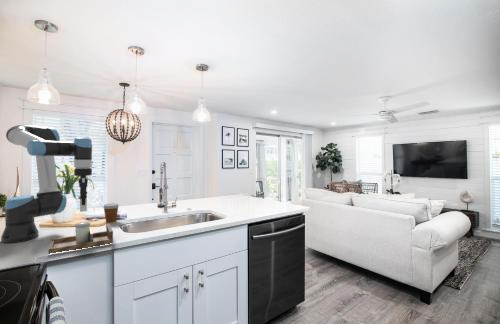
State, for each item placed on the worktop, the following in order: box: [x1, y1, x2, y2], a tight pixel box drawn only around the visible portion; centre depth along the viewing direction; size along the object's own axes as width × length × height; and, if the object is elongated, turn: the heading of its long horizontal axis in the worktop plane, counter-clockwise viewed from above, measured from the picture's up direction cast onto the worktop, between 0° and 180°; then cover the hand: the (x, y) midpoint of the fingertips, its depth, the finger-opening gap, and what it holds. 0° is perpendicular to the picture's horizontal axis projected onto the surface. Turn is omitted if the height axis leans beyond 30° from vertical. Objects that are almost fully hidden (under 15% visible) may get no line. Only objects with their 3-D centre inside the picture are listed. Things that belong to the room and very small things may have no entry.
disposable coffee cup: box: [103, 202, 119, 224], centre depth 170 cm, size 10×10×12 cm
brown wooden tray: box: [47, 223, 114, 255], centre depth 126 cm, size 26×17×7 cm, turn 125°
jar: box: [74, 221, 91, 244], centre depth 126 cm, size 6×6×10 cm
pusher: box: [90, 226, 94, 242], centre depth 128 cm, size 1×14×6 cm, turn 35°
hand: (83, 208), depth 126 cm, fingers open, 13 cm apart
